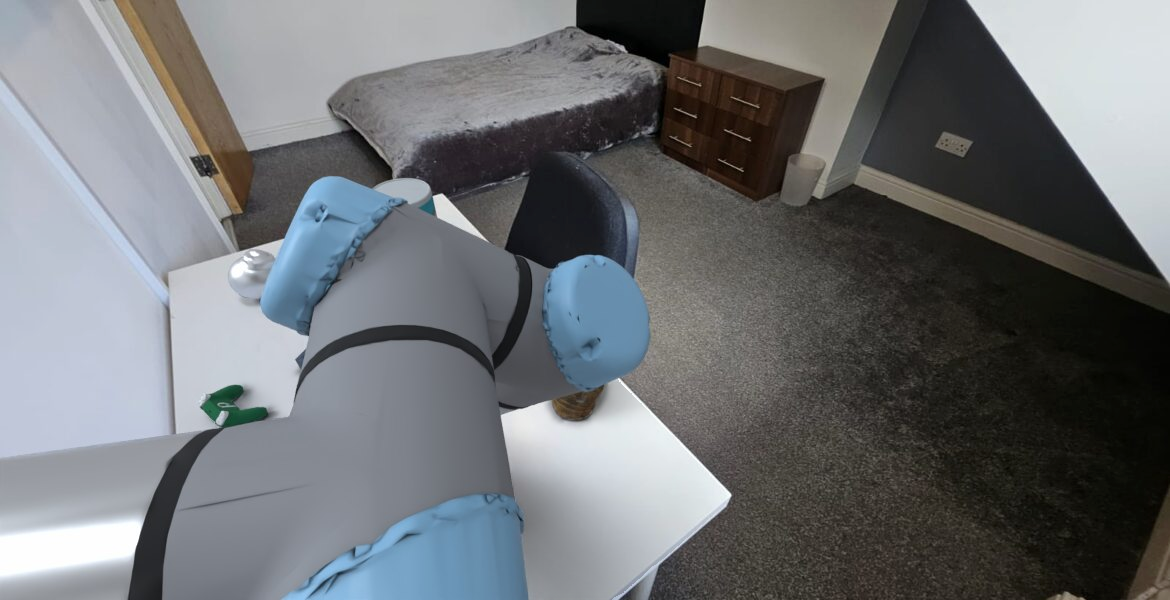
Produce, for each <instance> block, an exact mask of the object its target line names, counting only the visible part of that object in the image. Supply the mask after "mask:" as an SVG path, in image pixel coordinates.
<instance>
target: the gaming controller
mask: <svg viewBox="0 0 1170 600" xmlns="http://www.w3.org/2000/svg"><path fill="white" fill-rule="evenodd" d="M243 392H244V387H243V386H242V385H241V384H229V385H227V386H224V387H222V388H220V389H218V390H216V391H214V392H212V393H206V392H205V393H204V392H203V394H202V395H201V397H200V399H199V401H198V406H199V408H200V410H202V411H203V412H204V413H205V414H206V415H207V416H208V418H210V420H212V422H214V423H215V425H217V426H218V427H219V428H223V427H231V426H237V425H242V424H247V423H251V422H256V421H260V420H261V419H262V418H264V417H266V416H267V415H269V414H268V413H269V412H268V410H267V407H264V406H255V407H249V408H244V409H240V408H239V406H237V405H236V404H235V403H233V401H234V400H235V399H237V398H239V396H241V394H243Z"/></svg>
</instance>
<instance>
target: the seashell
mask: <svg viewBox="0 0 1170 600" xmlns="http://www.w3.org/2000/svg"><path fill="white" fill-rule="evenodd" d="M605 385H606V384H604V385H602V386H601V387H600V388H597V389H595V390H593V391H588V392H584V391H582V392H578V393H574V394H571V395H567V396H564V397H560V398H556V399H553V400H551V405H552V408H553V409H554V411H555V413H556V414H557V415H558V416H559V417H561V418H563V419H564V420H571V421H580V420H583V419H585V418H587V417H588V416H589V415H591V414H592V412H593V411H594V409H595V407H596V403H597V400H598V398H599V397H600V395H601V394H602V392H603V390H604V388H605Z"/></svg>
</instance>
